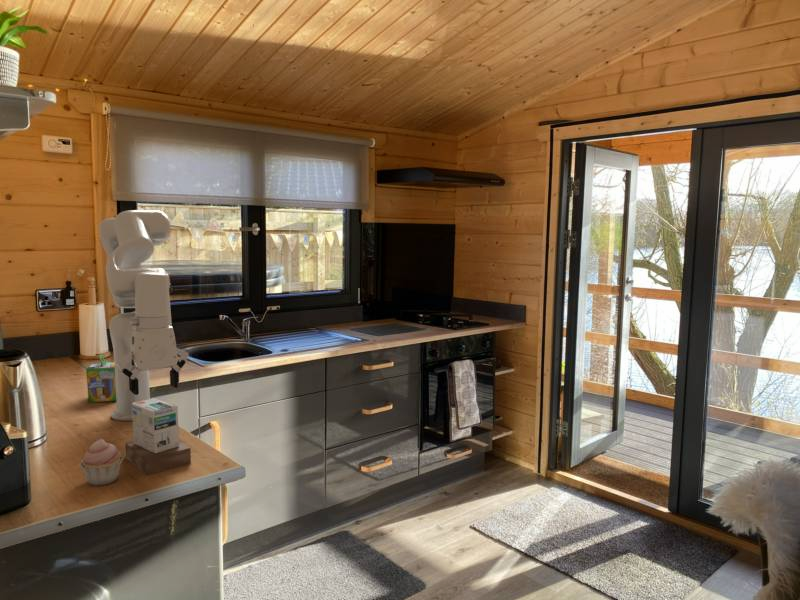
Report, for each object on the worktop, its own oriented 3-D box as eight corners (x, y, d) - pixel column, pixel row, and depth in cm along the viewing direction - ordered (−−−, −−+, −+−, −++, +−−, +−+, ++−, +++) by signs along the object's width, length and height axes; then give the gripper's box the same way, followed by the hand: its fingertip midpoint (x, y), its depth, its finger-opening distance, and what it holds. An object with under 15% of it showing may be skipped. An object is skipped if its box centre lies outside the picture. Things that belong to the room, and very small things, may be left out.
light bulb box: (180, 446, 157) (178, 405, 156) (155, 454, 152) (153, 411, 150) (157, 436, 164) (155, 396, 162) (132, 444, 158) (130, 402, 157)
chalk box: (117, 401, 206) (115, 357, 204) (87, 403, 204) (85, 358, 202) (123, 393, 215) (121, 351, 213) (94, 395, 213) (92, 352, 211)
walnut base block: (125, 457, 160) (125, 442, 159) (168, 447, 167) (168, 432, 167) (146, 475, 150) (145, 459, 149) (190, 463, 157) (190, 448, 156)
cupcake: (131, 472, 151) (130, 432, 150) (112, 489, 142) (110, 447, 140) (93, 471, 151) (91, 431, 150) (72, 488, 142) (69, 445, 141)
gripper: (121, 329, 145) (124, 400, 148) (193, 321, 157) (194, 387, 159) (110, 323, 151) (113, 392, 153) (180, 316, 162) (182, 380, 165)
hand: (154, 389), depth 156 cm, fingers open, 9 cm apart
